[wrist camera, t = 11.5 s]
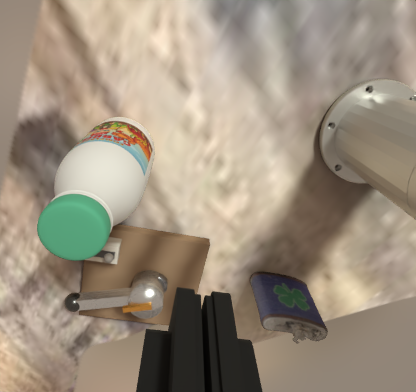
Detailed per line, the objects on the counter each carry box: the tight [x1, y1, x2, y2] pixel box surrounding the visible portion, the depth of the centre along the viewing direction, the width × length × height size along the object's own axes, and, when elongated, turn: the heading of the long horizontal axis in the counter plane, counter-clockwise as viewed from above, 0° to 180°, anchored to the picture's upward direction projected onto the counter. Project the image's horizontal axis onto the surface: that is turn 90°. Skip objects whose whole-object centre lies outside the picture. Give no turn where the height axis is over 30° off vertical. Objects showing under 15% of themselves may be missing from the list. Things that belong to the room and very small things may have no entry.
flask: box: [250, 272, 327, 343], centre depth 45 cm, size 9×3×11 cm, turn 71°
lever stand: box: [79, 224, 210, 325], centre depth 46 cm, size 16×15×5 cm
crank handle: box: [65, 270, 168, 319], centre depth 44 cm, size 13×4×5 cm, turn 94°
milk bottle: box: [37, 117, 155, 261], centre depth 31 cm, size 8×8×20 cm
